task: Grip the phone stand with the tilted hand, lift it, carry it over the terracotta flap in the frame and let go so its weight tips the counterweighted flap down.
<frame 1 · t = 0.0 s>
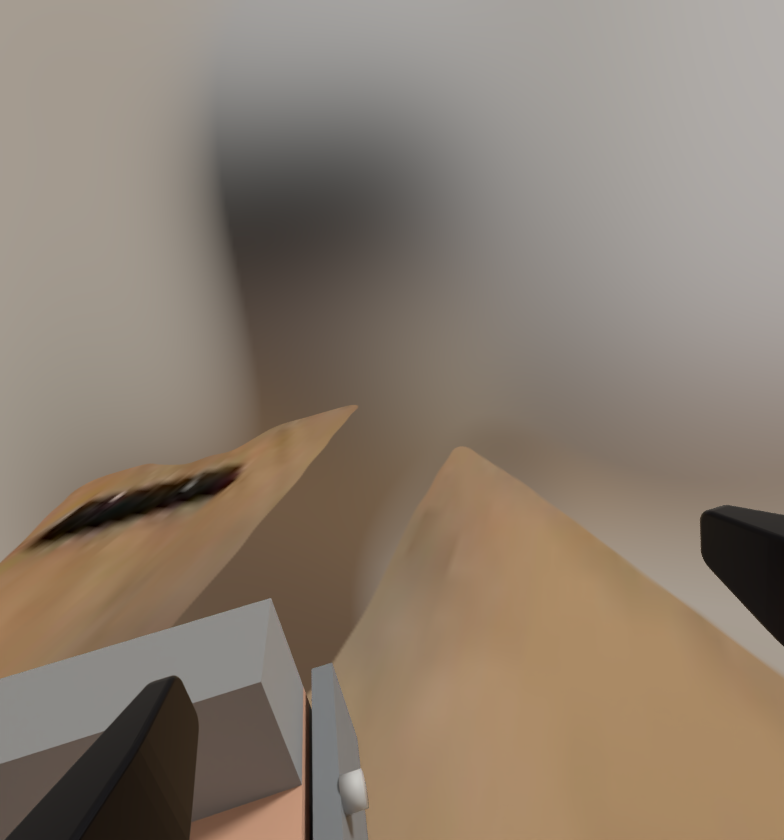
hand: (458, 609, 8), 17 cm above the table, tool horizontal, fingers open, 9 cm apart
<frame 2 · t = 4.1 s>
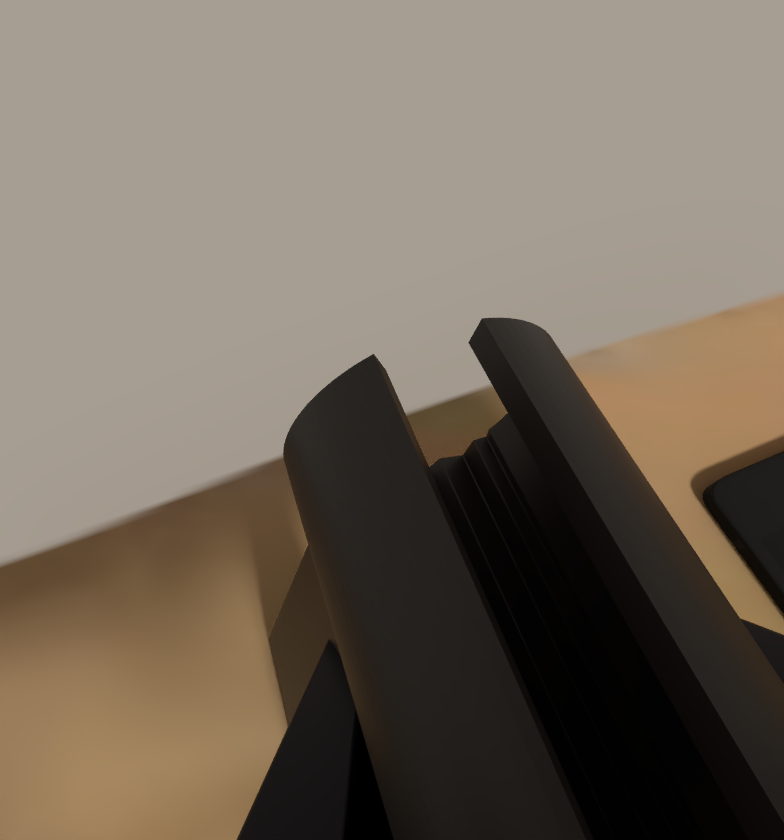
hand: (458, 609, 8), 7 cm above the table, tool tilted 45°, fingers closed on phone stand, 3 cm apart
phone stand: (456, 688, 13), on the table, touching gripper
when the fingers open (13 cm above the table, at t = 8.0 s): phone stand drops 4 cm, resting on flap.
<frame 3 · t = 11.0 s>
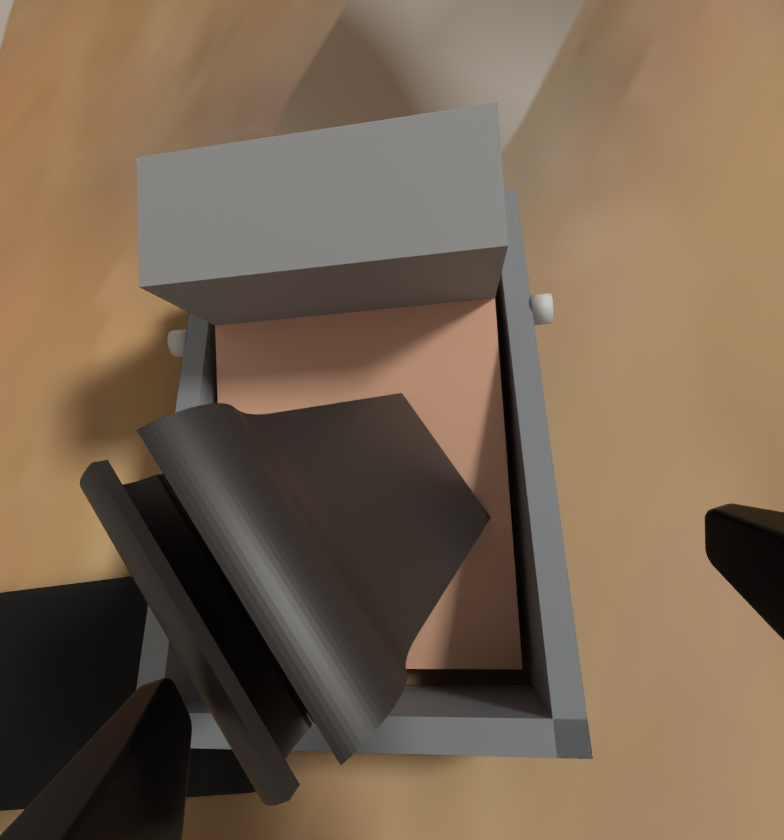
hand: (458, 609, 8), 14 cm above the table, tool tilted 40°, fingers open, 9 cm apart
phone stand: (355, 517, 19), point 3 cm above the table, touching flap, gripper
flap: (354, 431, 19), point 4 cm above the table, hinge at -15.5°, touching phone stand
cell phone: (88, 682, 22), on the table
flap frame: (372, 455, 23), on the table
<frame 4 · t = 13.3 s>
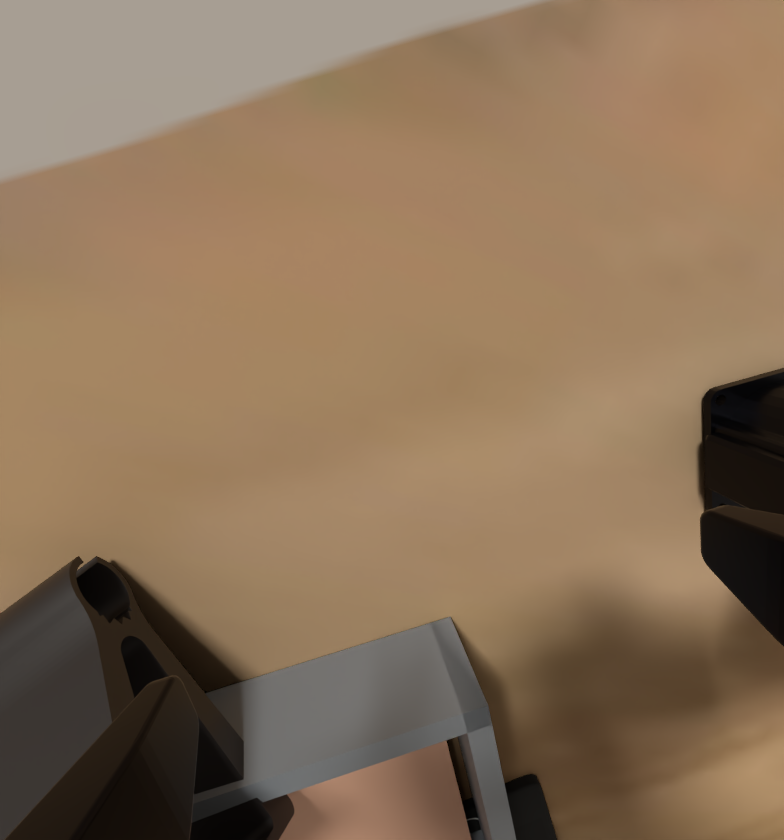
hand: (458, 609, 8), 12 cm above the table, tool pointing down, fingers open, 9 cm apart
flap frame: (269, 800, 24), on the table
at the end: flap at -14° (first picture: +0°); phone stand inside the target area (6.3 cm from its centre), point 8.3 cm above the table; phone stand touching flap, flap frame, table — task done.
